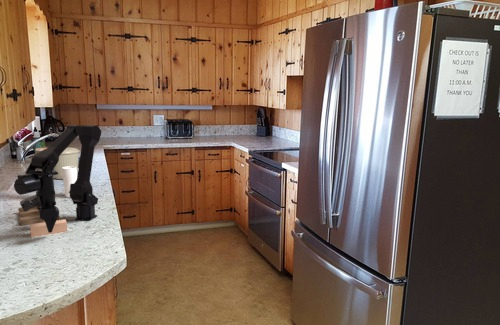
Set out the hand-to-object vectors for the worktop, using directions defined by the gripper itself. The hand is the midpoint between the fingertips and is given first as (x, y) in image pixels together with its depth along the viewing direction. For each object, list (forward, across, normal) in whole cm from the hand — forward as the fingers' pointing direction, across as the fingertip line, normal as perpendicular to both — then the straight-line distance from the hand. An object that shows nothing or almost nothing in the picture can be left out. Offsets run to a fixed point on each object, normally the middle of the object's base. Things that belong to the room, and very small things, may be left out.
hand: (48, 228), depth 145 cm
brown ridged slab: (+2, -23, -2) cm, 23 cm away
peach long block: (+2, 0, 0) cm, 2 cm away
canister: (+2, -98, +17) cm, 99 cm away
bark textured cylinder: (+2, -52, +4) cm, 52 cm away
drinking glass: (+2, -51, +14) cm, 53 cm away
